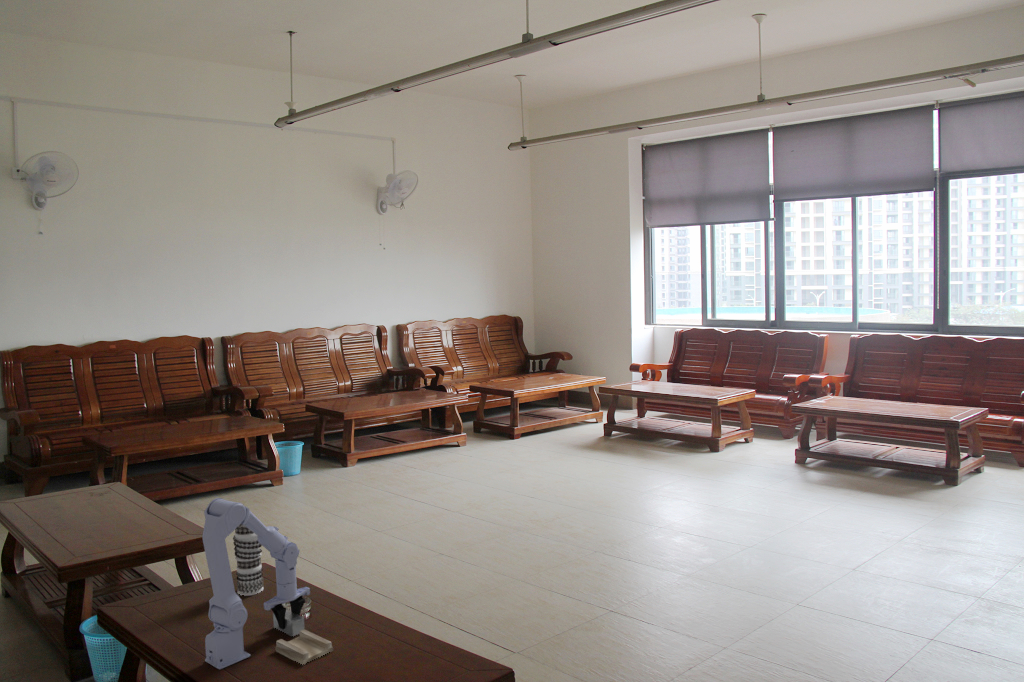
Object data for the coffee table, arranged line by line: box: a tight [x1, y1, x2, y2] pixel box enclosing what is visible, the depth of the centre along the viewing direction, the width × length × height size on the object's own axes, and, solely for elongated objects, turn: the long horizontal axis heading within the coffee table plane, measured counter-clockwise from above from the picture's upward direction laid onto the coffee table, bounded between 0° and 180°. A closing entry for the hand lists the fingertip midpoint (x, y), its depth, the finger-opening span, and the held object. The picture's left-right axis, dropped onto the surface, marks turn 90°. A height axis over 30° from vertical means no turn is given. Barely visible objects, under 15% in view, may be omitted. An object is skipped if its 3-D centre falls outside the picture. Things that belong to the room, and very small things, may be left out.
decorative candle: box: [232, 524, 264, 597], centre depth 261 cm, size 9×9×25 cm
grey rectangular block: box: [272, 609, 305, 638], centre depth 232 cm, size 4×10×4 cm, turn 49°
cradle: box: [274, 628, 334, 666], centre depth 218 cm, size 10×13×3 cm
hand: (288, 625), depth 232 cm, fingers closed on grey rectangular block, 4 cm apart
